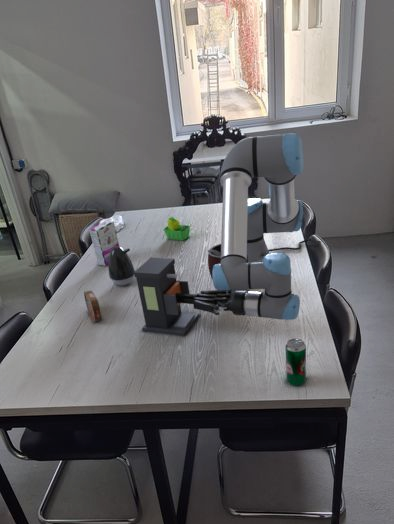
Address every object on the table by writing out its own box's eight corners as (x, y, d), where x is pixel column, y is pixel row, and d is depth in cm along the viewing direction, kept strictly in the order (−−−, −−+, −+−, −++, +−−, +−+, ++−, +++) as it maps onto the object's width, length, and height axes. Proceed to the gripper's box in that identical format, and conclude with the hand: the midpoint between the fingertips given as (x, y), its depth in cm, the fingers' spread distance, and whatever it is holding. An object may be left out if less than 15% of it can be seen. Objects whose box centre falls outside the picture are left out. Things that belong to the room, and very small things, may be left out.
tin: (86, 308, 178) (81, 288, 174) (95, 306, 179) (89, 285, 175) (95, 326, 166) (90, 304, 162) (104, 323, 167) (99, 301, 163)
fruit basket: (192, 236, 230) (189, 212, 224) (182, 242, 224) (178, 219, 218) (173, 234, 235) (169, 211, 229) (162, 240, 229) (158, 217, 223)
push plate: (182, 301, 160) (179, 282, 156) (172, 313, 154) (168, 293, 150) (179, 301, 160) (176, 281, 157) (168, 312, 154) (165, 293, 151)
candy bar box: (113, 255, 221) (105, 220, 212) (122, 256, 218) (114, 221, 210) (97, 265, 213) (88, 229, 204) (105, 266, 211) (97, 230, 202)
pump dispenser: (132, 288, 189) (124, 251, 180) (107, 288, 191) (99, 252, 183) (140, 277, 197) (133, 241, 189) (116, 277, 199) (108, 242, 191)
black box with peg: (199, 315, 164) (191, 258, 152) (183, 335, 154) (174, 276, 143) (159, 312, 169) (149, 256, 158) (142, 331, 160) (130, 273, 148)
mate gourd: (229, 282, 182) (225, 231, 171) (258, 291, 173) (255, 238, 163) (200, 299, 174) (193, 246, 163) (229, 309, 165) (223, 254, 154)
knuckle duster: (101, 223, 263) (128, 220, 262) (96, 235, 248) (124, 231, 247) (100, 217, 262) (127, 214, 261) (94, 228, 246) (122, 225, 245)
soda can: (284, 376, 130) (283, 339, 123) (303, 374, 130) (303, 336, 123) (289, 388, 126) (288, 349, 119) (308, 385, 126) (308, 346, 119)
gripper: (241, 325, 143) (169, 318, 152) (254, 304, 153) (186, 298, 162) (239, 302, 139) (166, 296, 148) (252, 282, 149) (183, 278, 158)
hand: (176, 297), depth 155 cm, fingers closed
